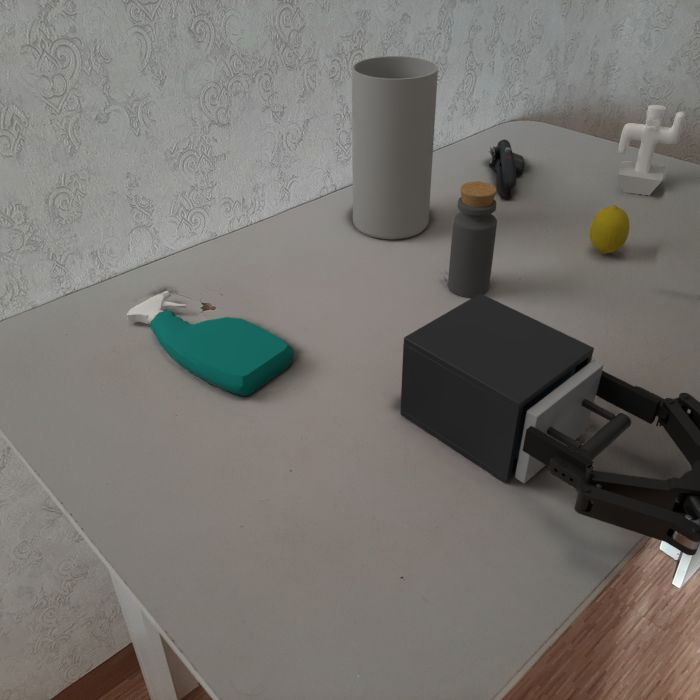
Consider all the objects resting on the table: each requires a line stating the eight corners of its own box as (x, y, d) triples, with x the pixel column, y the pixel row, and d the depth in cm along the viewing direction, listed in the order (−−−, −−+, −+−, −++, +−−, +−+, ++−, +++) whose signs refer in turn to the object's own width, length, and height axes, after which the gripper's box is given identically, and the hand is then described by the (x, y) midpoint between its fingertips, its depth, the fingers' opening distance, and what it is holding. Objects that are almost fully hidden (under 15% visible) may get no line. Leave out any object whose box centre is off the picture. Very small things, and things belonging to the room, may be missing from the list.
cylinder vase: (411, 247, 112) (419, 83, 97) (340, 232, 116) (337, 73, 102) (438, 215, 121) (449, 61, 106) (371, 202, 125) (373, 52, 111)
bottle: (439, 282, 103) (447, 184, 94) (473, 273, 105) (483, 176, 97) (462, 301, 99) (473, 201, 90) (497, 291, 101) (510, 192, 92)
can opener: (486, 162, 140) (489, 134, 136) (523, 164, 139) (527, 136, 136) (485, 200, 126) (488, 170, 122) (525, 203, 125) (530, 172, 121)
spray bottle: (238, 405, 82) (110, 331, 94) (303, 360, 88) (175, 297, 101) (235, 385, 80) (105, 312, 93) (301, 341, 87) (171, 279, 100)
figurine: (612, 178, 133) (630, 96, 124) (666, 186, 130) (688, 102, 121) (607, 193, 128) (625, 108, 119) (663, 201, 125) (686, 115, 116)
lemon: (584, 259, 108) (594, 211, 104) (586, 243, 113) (596, 195, 108) (622, 265, 107) (634, 216, 102) (623, 248, 111) (635, 200, 106)
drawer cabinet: (575, 425, 78) (594, 347, 72) (505, 484, 72) (519, 403, 65) (471, 367, 87) (480, 292, 81) (400, 414, 80) (403, 337, 74)
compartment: (630, 453, 74) (650, 387, 68) (568, 512, 67) (585, 444, 62) (487, 373, 85) (495, 311, 79) (422, 417, 78) (426, 353, 73)
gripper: (717, 659, 53) (483, 498, 66) (832, 493, 66) (618, 385, 79) (750, 598, 49) (492, 438, 61) (866, 433, 62) (634, 329, 74)
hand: (563, 408), depth 70 cm, fingers closed on compartment, 11 cm apart
